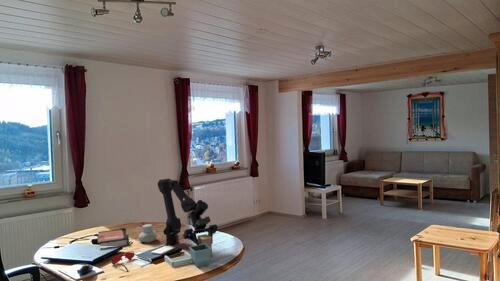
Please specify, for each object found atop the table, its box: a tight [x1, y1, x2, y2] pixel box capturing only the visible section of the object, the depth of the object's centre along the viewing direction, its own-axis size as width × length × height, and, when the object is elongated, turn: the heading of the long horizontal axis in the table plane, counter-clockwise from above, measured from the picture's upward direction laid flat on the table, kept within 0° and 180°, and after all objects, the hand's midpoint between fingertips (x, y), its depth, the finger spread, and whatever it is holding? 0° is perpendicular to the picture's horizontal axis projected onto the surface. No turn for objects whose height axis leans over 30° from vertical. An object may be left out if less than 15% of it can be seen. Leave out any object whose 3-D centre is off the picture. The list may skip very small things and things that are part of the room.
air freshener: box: [138, 223, 158, 244], centre depth 235 cm, size 11×8×10 cm
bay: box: [164, 251, 194, 268], centre depth 197 cm, size 12×12×2 cm
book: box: [97, 227, 130, 247], centre depth 238 cm, size 26×18×5 cm
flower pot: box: [188, 244, 211, 268], centre depth 191 cm, size 9×9×9 cm
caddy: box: [196, 233, 213, 259], centre depth 203 cm, size 7×5×11 cm
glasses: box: [110, 250, 153, 273], centre depth 195 cm, size 14×16×5 cm
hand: (205, 245), depth 202 cm, fingers open, 7 cm apart
